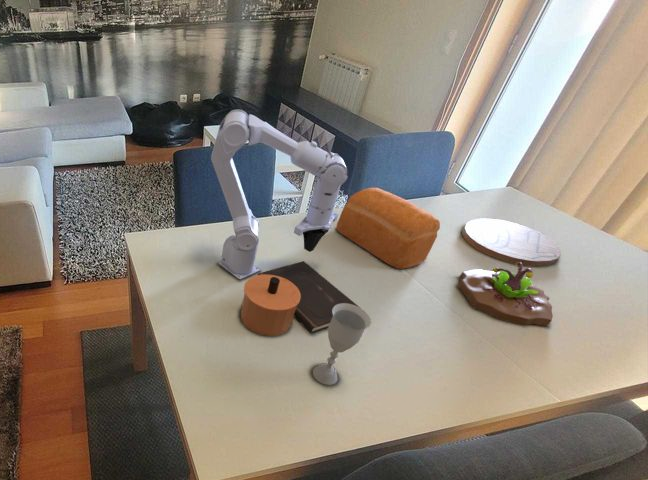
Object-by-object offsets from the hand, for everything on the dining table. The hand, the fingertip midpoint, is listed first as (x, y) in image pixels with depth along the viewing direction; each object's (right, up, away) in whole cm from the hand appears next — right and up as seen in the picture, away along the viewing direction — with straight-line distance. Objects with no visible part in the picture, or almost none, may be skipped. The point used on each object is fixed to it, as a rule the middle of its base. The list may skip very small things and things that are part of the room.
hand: (308, 249), depth 109 cm
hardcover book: (-1, -13, -1) cm, 13 cm away
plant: (+51, -14, -2) cm, 53 cm away
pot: (-14, -18, -7) cm, 24 cm away
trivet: (+72, +3, +19) cm, 75 cm away
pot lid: (-14, -11, -13) cm, 22 cm away
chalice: (-5, -30, -21) cm, 37 cm away
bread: (+30, +3, +19) cm, 35 cm away
